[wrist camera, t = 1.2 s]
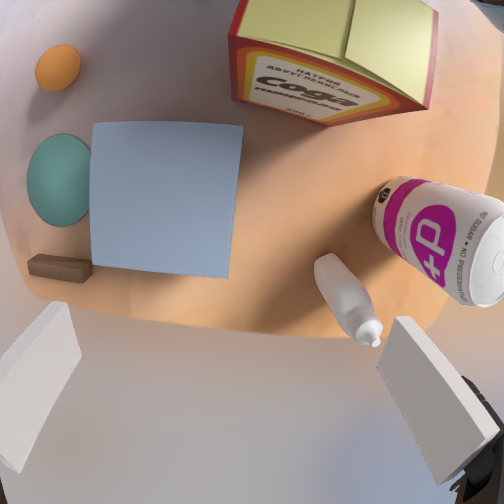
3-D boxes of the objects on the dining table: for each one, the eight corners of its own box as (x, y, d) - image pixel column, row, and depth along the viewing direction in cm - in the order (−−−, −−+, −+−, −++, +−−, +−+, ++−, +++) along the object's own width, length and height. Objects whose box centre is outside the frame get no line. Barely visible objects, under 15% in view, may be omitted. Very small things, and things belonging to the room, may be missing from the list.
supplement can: (364, 247, 29) (448, 321, 15) (374, 169, 26) (480, 195, 12) (422, 249, 30) (508, 310, 16) (433, 180, 27) (535, 211, 13)
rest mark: (29, 138, 23) (28, 138, 22) (99, 131, 24) (98, 131, 23) (29, 223, 26) (28, 223, 26) (97, 228, 27) (96, 228, 27)
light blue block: (134, 129, 24) (93, 122, 16) (241, 134, 25) (243, 125, 17) (130, 232, 27) (92, 264, 19) (230, 240, 28) (227, 279, 20)
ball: (57, 56, 20) (32, 45, 15) (93, 48, 20) (70, 34, 16) (49, 96, 21) (22, 91, 17) (84, 91, 22) (59, 83, 17)
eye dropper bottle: (353, 253, 29) (411, 309, 18) (343, 299, 31) (387, 369, 20) (315, 250, 29) (360, 310, 18) (306, 298, 31) (339, 373, 20)
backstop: (38, 253, 27) (27, 261, 25) (91, 260, 28) (81, 269, 26) (40, 266, 28) (29, 274, 25) (92, 273, 28) (83, 283, 26)
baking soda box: (232, 99, 24) (227, 30, 9) (249, 40, 22) (266, -64, 7) (329, 127, 25) (433, 108, 10) (343, 69, 23) (442, 10, 8)
